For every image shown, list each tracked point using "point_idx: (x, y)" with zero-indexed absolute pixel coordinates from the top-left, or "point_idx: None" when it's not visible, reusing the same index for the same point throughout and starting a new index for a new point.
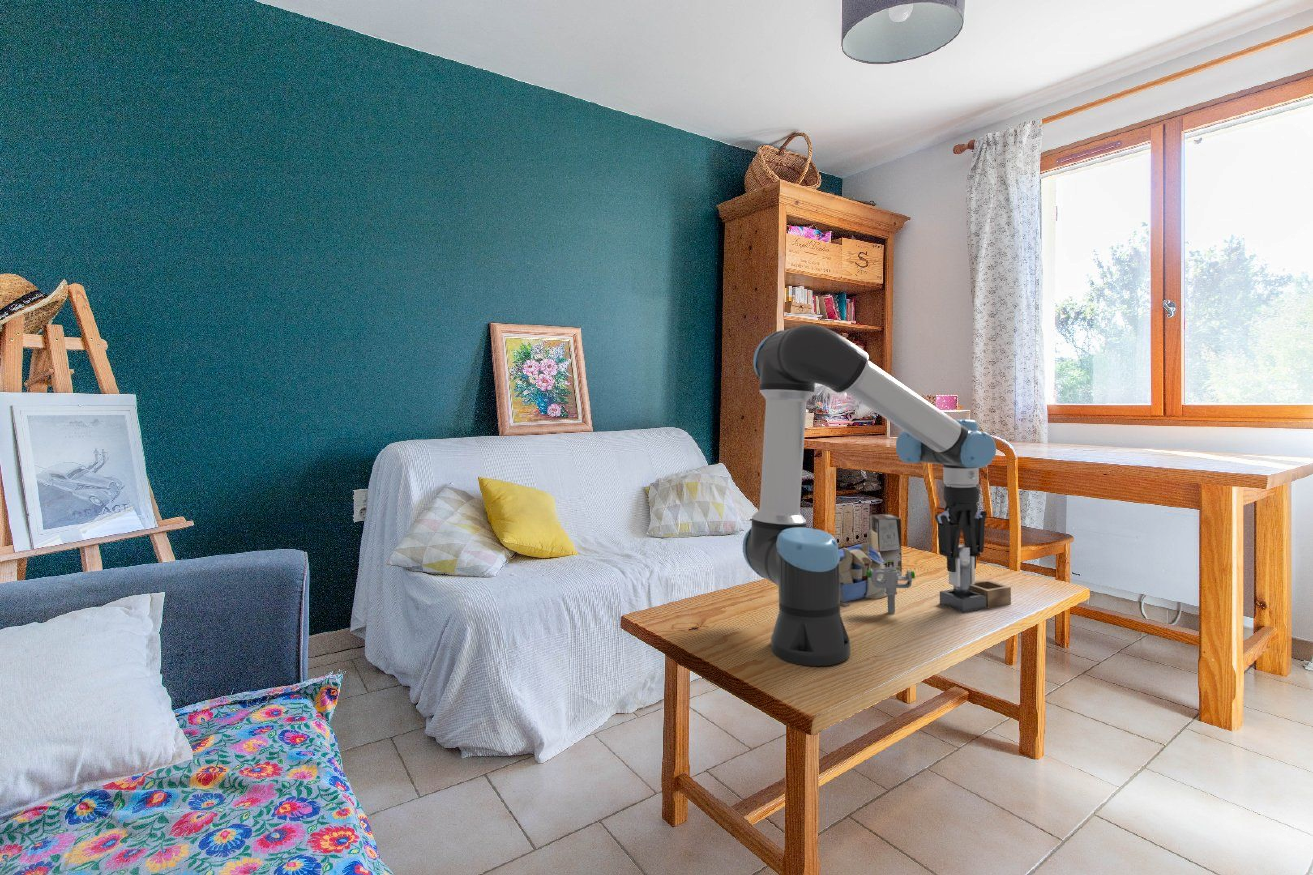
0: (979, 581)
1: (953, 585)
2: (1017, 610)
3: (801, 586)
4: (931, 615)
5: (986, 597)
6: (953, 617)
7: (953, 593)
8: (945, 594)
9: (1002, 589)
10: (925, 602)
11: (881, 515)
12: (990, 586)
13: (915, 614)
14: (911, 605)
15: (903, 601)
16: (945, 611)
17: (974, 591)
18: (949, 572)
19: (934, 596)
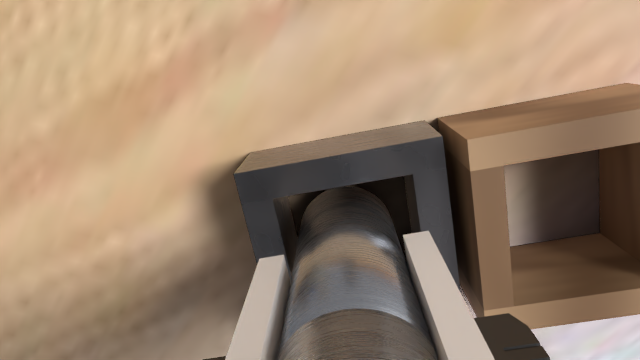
0: (619, 125)
1: (297, 254)
2: (563, 339)
3: None
4: (117, 301)
5: (470, 298)
6: (205, 346)
7: (301, 229)
8: (248, 219)
9: (616, 312)
10: (181, 107)
11: None
12: None
13: (46, 271)
14: (78, 138)
15: (58, 54)
16: (213, 269)
17: (466, 218)
18: (243, 320)
19: (298, 5)
